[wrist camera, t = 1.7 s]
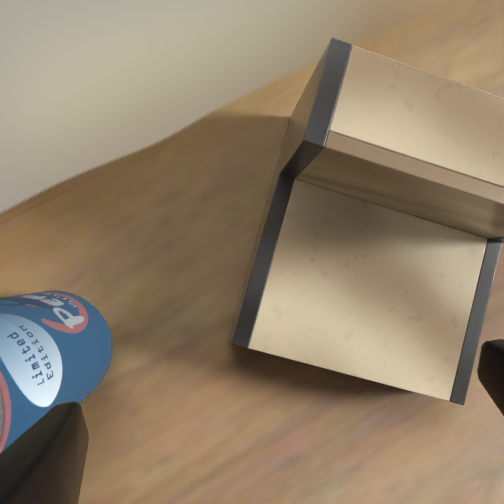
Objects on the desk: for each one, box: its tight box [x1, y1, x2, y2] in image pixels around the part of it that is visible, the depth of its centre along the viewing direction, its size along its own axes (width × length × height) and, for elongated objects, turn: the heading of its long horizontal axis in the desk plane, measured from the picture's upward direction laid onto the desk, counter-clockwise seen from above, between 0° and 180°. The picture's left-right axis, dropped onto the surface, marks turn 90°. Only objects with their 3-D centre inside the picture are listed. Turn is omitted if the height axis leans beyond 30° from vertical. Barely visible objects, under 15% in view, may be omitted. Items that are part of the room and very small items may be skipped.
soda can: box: [0, 291, 112, 453], centre depth 18 cm, size 7×7×12 cm
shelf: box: [229, 38, 504, 405], centre depth 22 cm, size 16×15×9 cm
